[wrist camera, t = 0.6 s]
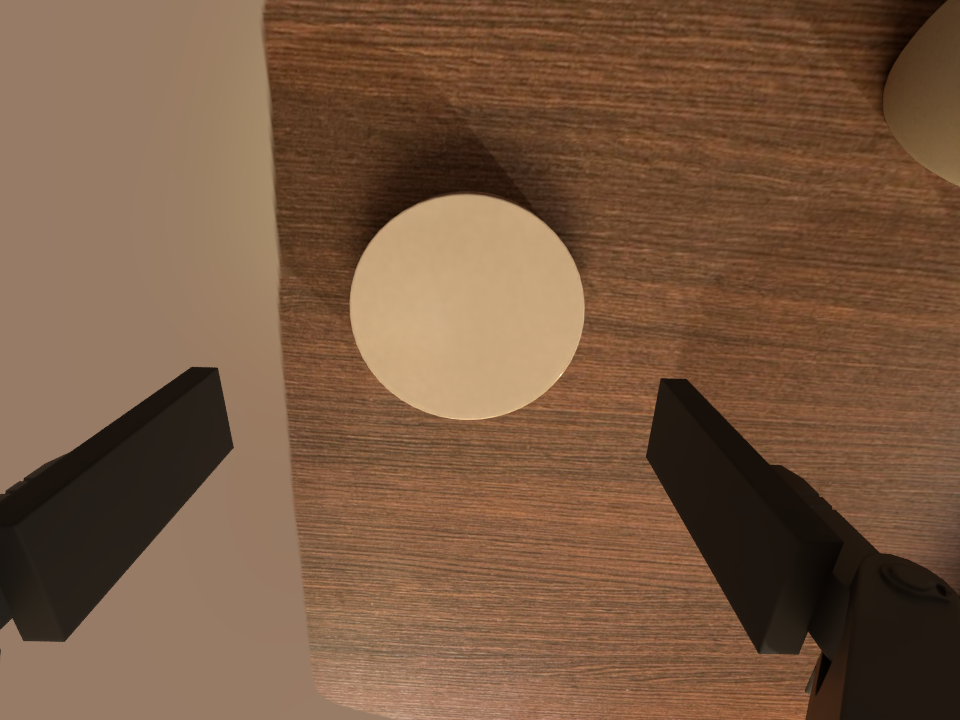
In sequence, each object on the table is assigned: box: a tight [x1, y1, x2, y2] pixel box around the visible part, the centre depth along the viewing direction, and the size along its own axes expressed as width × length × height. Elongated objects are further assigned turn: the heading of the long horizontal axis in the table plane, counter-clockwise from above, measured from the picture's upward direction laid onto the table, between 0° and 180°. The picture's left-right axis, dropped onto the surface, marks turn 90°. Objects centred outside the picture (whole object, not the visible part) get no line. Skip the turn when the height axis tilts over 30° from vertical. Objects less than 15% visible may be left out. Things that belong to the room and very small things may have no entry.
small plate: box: [350, 191, 585, 420], centre depth 25 cm, size 12×12×2 cm
